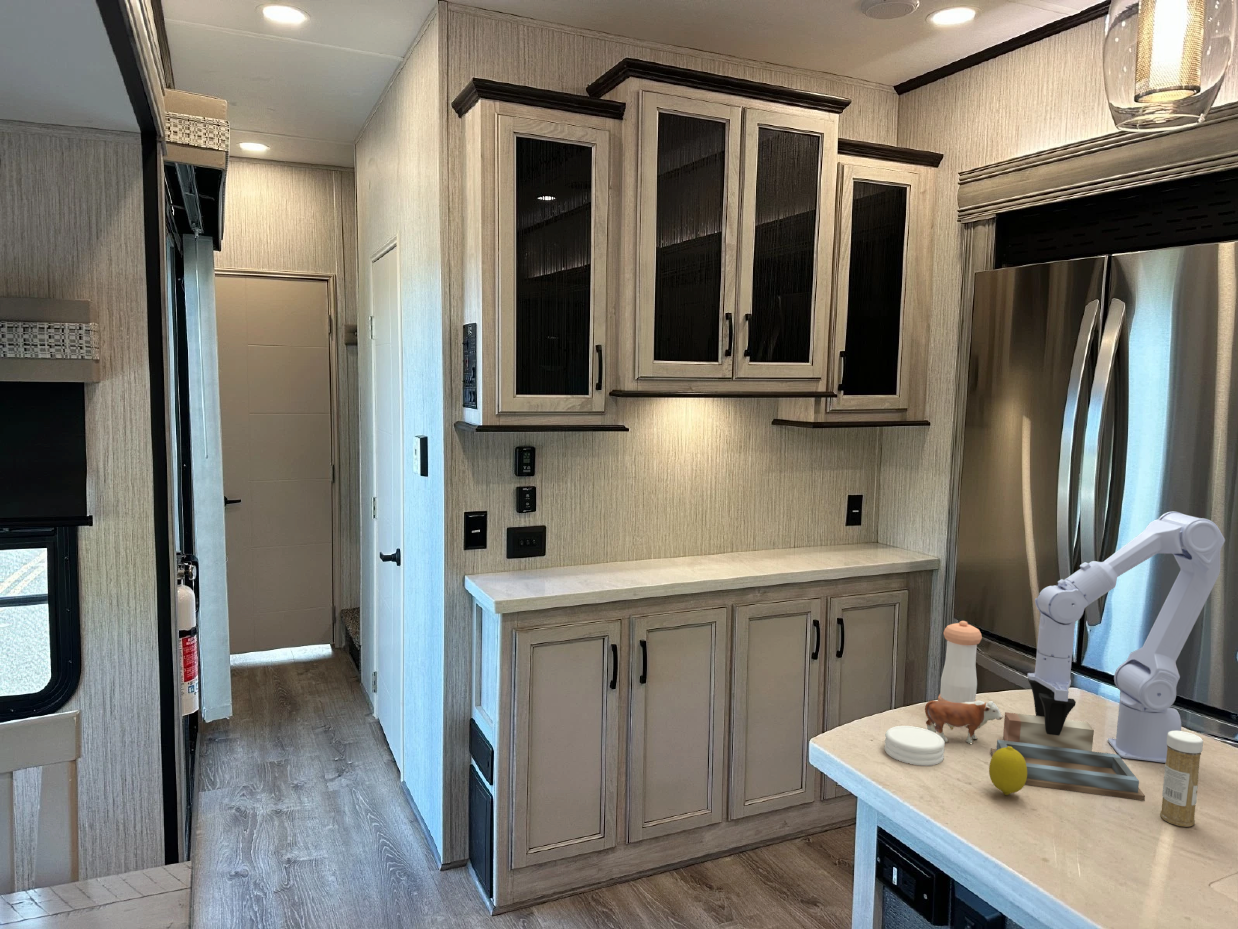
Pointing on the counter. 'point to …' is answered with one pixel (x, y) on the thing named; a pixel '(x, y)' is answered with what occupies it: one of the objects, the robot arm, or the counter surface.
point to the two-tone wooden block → (1035, 733)
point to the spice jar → (1181, 778)
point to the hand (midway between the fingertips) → (1047, 726)
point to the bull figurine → (960, 716)
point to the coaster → (914, 745)
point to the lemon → (1008, 770)
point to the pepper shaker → (960, 663)
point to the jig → (1076, 770)
